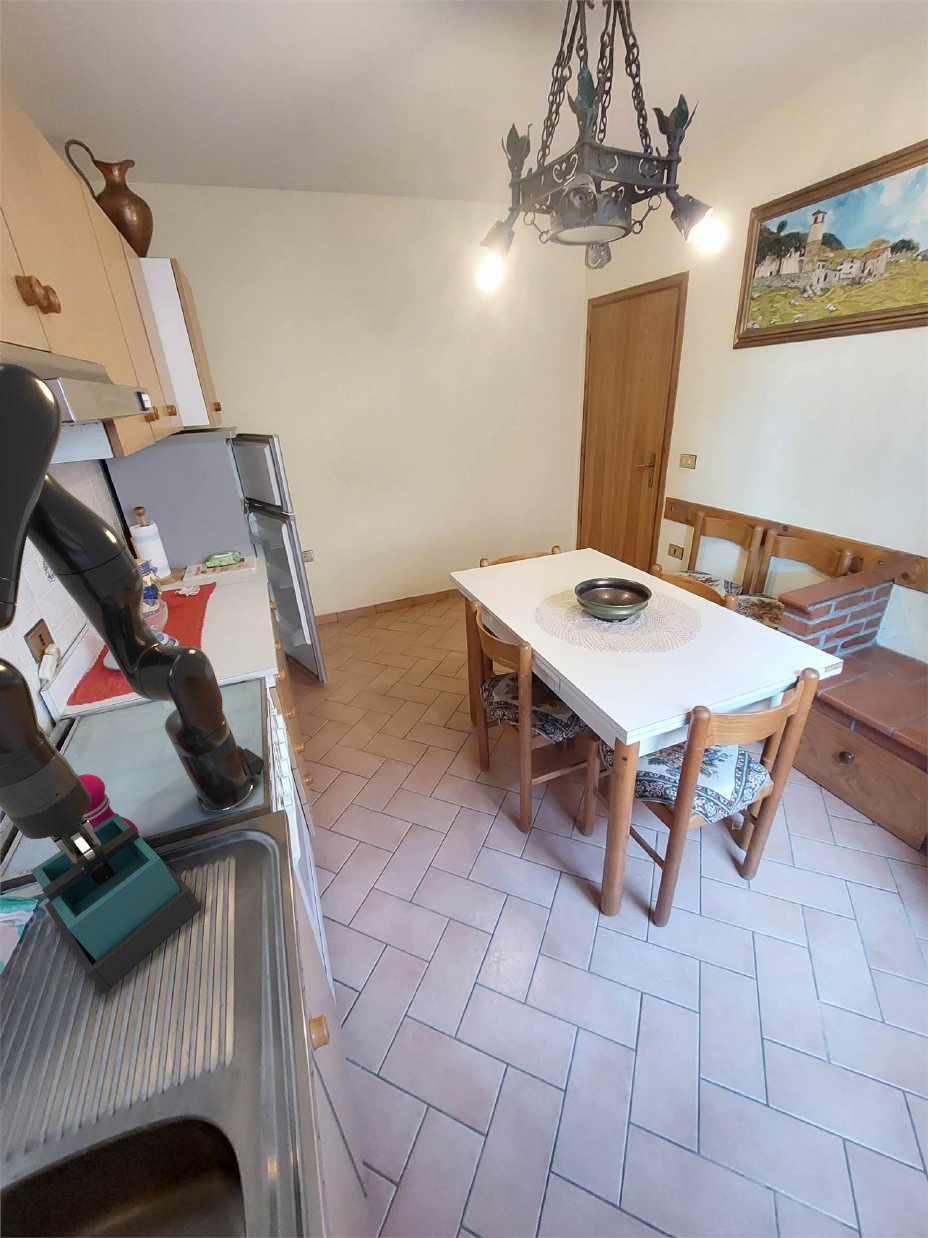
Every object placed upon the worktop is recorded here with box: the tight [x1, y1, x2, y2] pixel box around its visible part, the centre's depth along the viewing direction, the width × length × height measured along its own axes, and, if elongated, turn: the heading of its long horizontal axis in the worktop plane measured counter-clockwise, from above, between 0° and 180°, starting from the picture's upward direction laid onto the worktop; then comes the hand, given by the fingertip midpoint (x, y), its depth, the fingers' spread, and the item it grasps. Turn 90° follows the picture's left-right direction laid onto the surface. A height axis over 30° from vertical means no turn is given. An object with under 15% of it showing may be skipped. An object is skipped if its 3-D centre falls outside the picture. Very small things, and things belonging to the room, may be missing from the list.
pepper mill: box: [76, 773, 139, 834], centre depth 80 cm, size 7×7×20 cm
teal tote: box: [30, 812, 181, 961], centre depth 71 cm, size 11×14×11 cm
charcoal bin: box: [43, 838, 202, 994], centre depth 74 cm, size 14×17×6 cm
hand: (102, 874), depth 70 cm, fingers closed on teal tote
